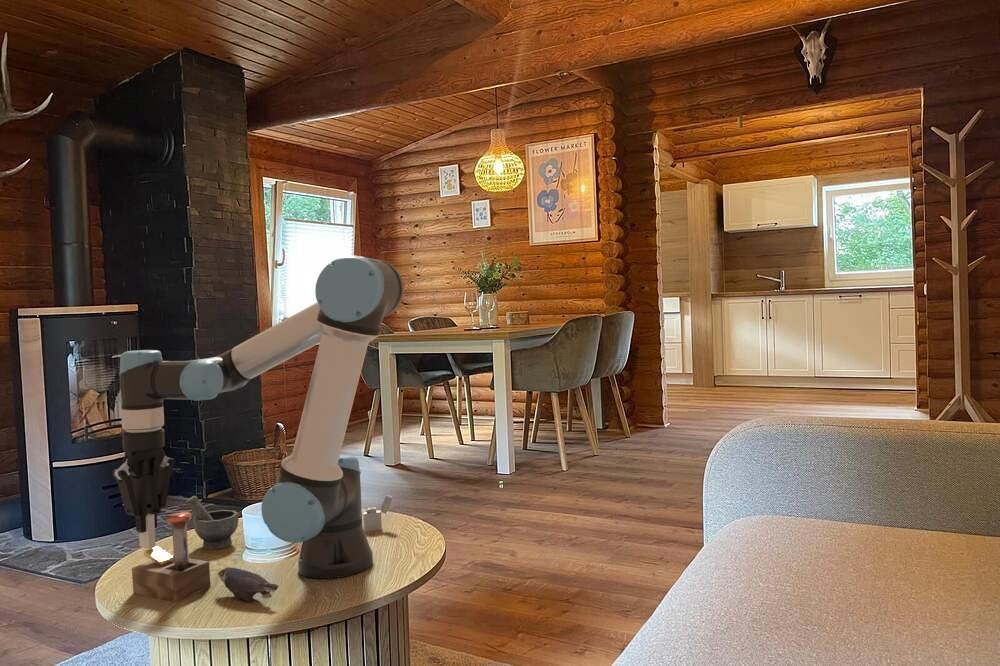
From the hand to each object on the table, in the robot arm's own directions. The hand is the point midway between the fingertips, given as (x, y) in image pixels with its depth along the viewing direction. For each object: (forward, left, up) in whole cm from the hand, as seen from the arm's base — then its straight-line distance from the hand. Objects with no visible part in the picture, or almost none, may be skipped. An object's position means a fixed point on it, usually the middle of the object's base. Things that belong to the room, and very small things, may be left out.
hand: (147, 546), depth 151 cm
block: (-6, 0, -8) cm, 10 cm away
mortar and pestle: (+8, -24, -8) cm, 27 cm away
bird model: (-24, -2, -8) cm, 25 cm away
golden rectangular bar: (-3, 0, -2) cm, 4 cm away
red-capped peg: (-9, 0, -8) cm, 12 cm away
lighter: (-22, -47, -8) cm, 52 cm away
